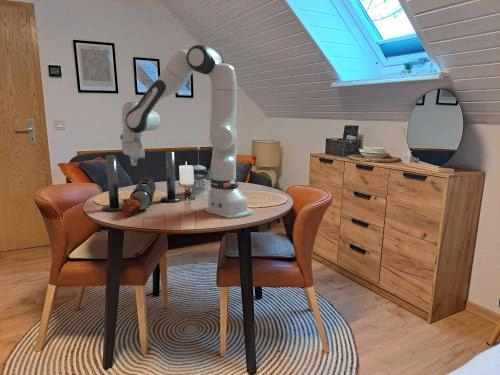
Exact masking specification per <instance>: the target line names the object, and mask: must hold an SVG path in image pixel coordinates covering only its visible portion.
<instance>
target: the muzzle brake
mask: <svg viewBox="0 0 500 375" xmlns="http://www.w3.org/2000/svg"><path fill="white" fill-rule="evenodd" d="M156 188H157V187H156V182H155V181H154V180H153V179H151V178H148V177H147V178H145V177H144V178H142V179H141V180H139V182H138V183H137V185H136V187H135V188H134V189H133V191H132V192H131V193H130V195H129V200H130V199H134V200H137V201H138V202H139V203H140V204H141V206H140V209H139V210H138V211H140V210H147V209H148V208H150V206H152V204H153V198H154V194H155V192H156V190H157V189H156Z"/></svg>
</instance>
